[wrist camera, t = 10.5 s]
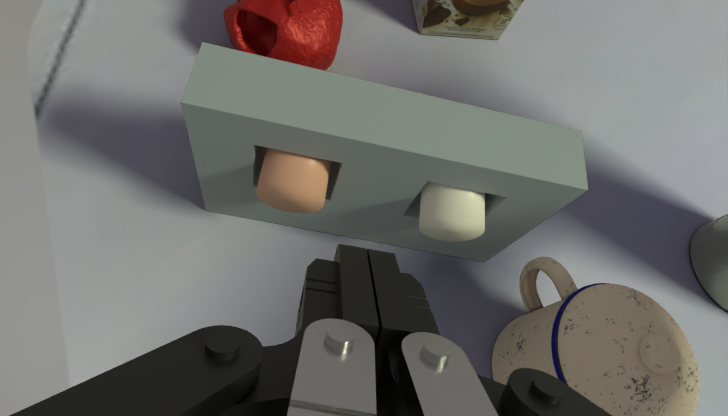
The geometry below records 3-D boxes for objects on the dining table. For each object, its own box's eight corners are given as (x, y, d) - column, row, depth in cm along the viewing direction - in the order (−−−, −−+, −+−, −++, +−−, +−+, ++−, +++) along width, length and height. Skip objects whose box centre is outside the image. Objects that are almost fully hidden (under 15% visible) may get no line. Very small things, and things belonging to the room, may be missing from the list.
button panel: (219, 164, 36) (202, 42, 24) (484, 217, 39) (581, 131, 27) (205, 210, 34) (180, 102, 22) (484, 262, 37) (588, 190, 26)
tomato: (321, 8, 45) (338, -85, 37) (349, 89, 42) (375, 6, 34) (216, 11, 42) (210, -90, 34) (237, 100, 38) (235, 10, 30)
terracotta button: (277, 115, 32) (280, 76, 28) (335, 127, 32) (344, 91, 29) (256, 206, 29) (256, 175, 25) (319, 218, 29) (328, 189, 26)
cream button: (417, 145, 33) (436, 111, 30) (469, 156, 34) (494, 125, 30) (410, 234, 30) (431, 209, 26) (468, 245, 31) (496, 222, 27)
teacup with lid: (620, 412, 34) (777, 407, 24) (522, 463, 31) (654, 484, 21) (543, 264, 38) (650, 205, 28) (449, 297, 35) (531, 246, 25)
